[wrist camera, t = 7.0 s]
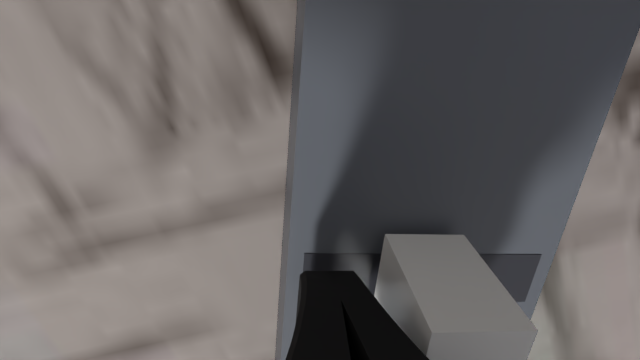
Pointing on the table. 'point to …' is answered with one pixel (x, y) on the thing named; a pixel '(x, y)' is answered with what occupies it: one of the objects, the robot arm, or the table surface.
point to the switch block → (443, 130)
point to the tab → (450, 300)
